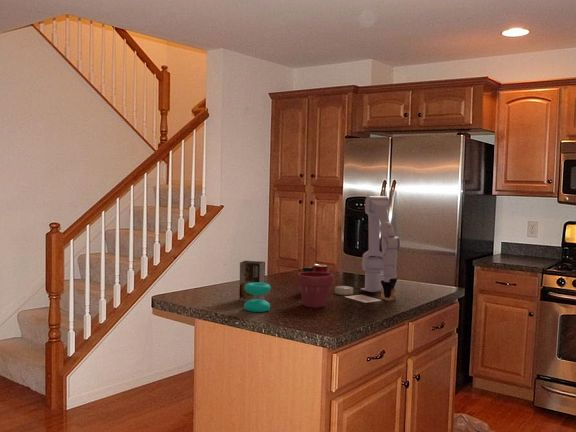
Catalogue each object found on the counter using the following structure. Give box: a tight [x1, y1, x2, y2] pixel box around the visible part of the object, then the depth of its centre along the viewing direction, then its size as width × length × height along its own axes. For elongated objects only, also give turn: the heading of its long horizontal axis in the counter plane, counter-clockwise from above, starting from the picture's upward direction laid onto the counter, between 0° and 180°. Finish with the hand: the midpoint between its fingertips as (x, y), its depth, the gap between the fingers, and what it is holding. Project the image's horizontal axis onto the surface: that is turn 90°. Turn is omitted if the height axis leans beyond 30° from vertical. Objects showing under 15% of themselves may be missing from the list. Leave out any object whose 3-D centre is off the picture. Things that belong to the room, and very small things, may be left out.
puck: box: [334, 285, 354, 296], centre depth 258 cm, size 8×8×3 cm
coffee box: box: [238, 260, 266, 302], centre depth 237 cm, size 9×6×16 cm
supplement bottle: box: [299, 266, 314, 295], centre depth 255 cm, size 7×7×12 cm
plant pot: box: [297, 271, 334, 308], centre depth 232 cm, size 14×14×13 cm
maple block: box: [380, 288, 397, 302], centre depth 248 cm, size 4×4×4 cm
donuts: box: [243, 282, 272, 313], centre depth 220 cm, size 10×10×10 cm
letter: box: [344, 294, 384, 304], centre depth 248 cm, size 10×14×1 cm
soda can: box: [311, 263, 329, 273], centre depth 262 cm, size 7×7×12 cm
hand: (388, 296), depth 248 cm, fingers closed on maple block, 6 cm apart
